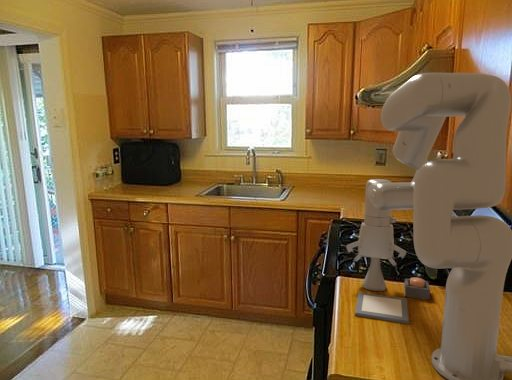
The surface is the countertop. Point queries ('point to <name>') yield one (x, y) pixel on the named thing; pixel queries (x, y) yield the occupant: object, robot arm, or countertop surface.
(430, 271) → the vegetable
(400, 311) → the board
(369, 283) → the flask
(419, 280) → the button
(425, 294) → the button housing
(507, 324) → the countertop surface
